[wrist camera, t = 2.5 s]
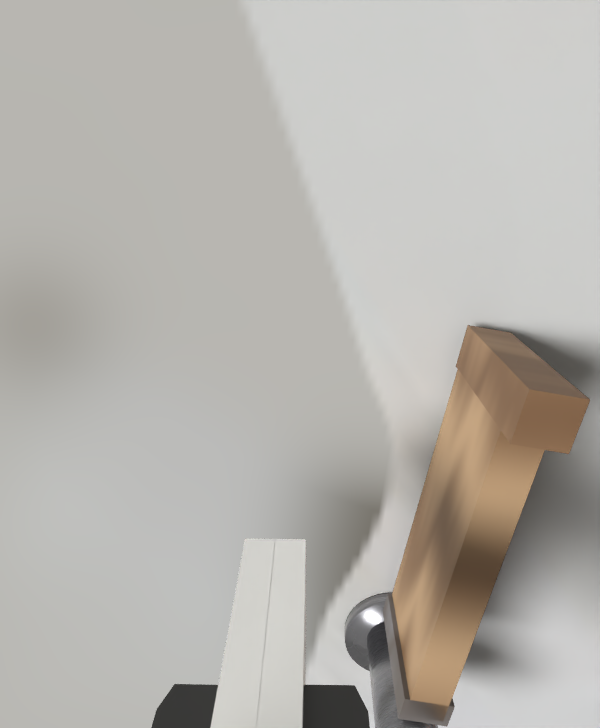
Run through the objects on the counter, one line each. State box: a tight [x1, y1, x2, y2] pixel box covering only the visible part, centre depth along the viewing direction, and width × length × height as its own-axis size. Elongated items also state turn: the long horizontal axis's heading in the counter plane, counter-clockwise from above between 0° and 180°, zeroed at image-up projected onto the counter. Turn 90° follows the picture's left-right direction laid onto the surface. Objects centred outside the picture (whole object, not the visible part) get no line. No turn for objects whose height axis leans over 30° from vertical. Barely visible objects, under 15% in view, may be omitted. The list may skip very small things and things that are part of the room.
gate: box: [383, 325, 590, 726], centre depth 19 cm, size 14×2×6 cm, turn 170°
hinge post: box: [345, 593, 438, 728], centre depth 22 cm, size 4×4×7 cm
